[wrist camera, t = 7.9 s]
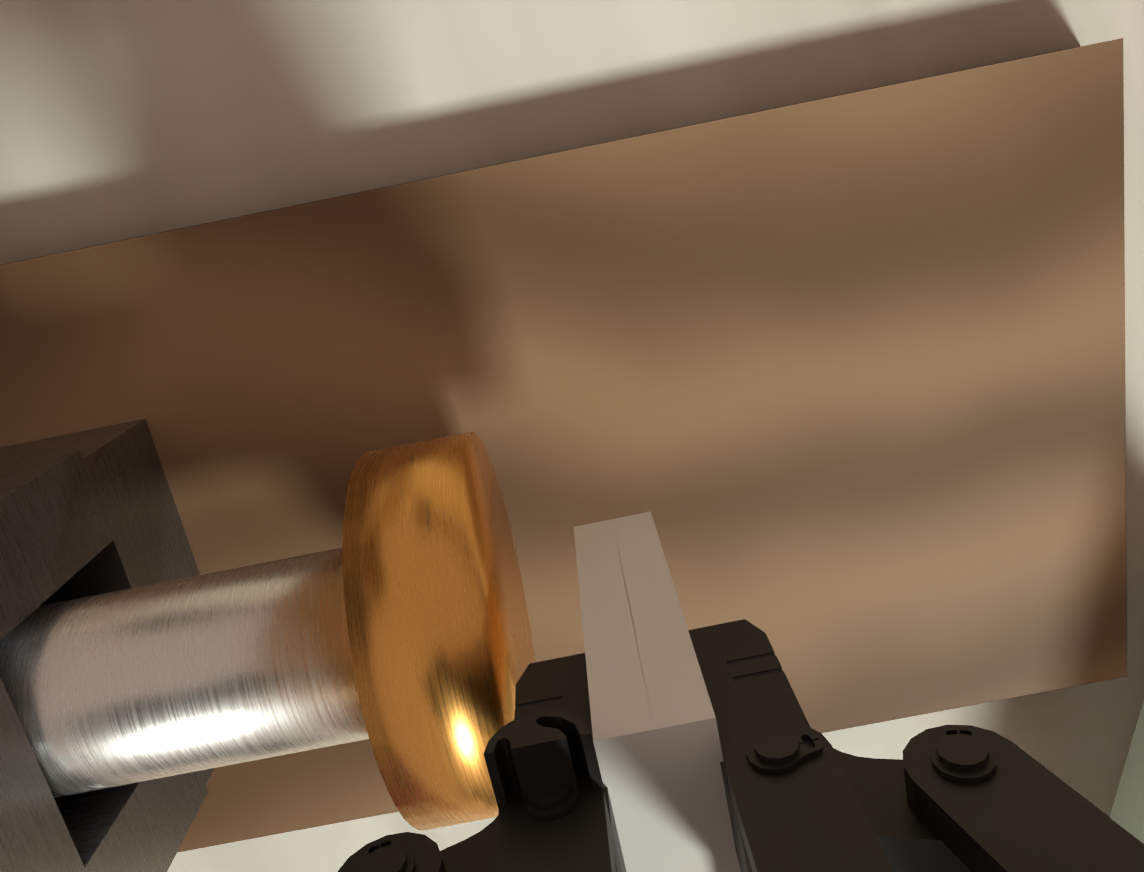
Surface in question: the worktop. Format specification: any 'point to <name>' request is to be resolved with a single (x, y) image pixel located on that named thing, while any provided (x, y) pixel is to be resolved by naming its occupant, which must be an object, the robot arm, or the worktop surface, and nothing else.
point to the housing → (70, 571)
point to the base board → (669, 385)
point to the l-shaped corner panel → (1132, 786)
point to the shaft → (302, 649)
